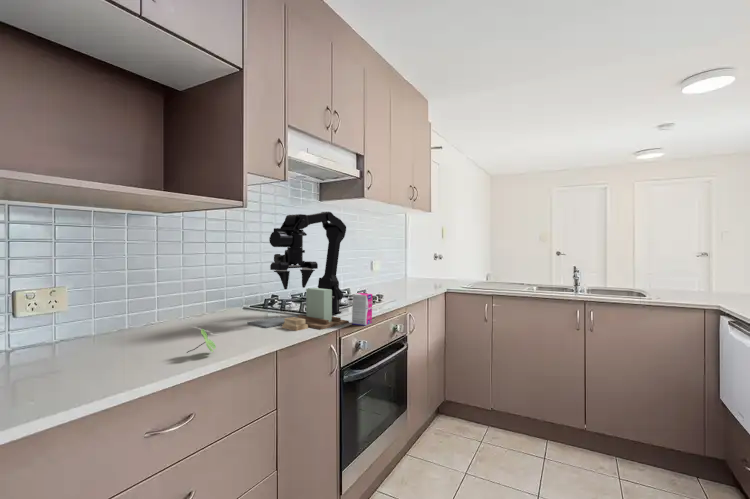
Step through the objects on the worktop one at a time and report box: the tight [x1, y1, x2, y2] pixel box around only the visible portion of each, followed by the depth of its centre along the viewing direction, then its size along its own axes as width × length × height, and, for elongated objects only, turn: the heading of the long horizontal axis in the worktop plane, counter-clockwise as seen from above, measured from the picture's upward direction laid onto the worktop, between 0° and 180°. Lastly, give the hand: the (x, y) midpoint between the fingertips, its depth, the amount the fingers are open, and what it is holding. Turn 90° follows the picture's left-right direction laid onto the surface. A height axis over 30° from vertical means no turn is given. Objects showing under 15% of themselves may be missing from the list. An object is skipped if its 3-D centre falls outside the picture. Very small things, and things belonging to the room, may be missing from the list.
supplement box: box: [351, 292, 373, 327], centre depth 143 cm, size 6×6×12 cm
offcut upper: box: [283, 316, 305, 327], centre depth 137 cm, size 4×7×2 cm, turn 48°
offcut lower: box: [281, 324, 309, 332], centre depth 137 cm, size 5×8×2 cm, turn 50°
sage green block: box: [305, 287, 333, 322], centre depth 146 cm, size 4×10×12 cm, turn 50°
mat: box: [247, 316, 285, 329], centre depth 146 cm, size 14×12×1 cm
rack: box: [297, 314, 350, 330], centre depth 146 cm, size 14×18×2 cm
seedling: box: [185, 328, 217, 354], centre depth 105 cm, size 7×8×7 cm
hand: (294, 288), depth 146 cm, fingers open, 8 cm apart
